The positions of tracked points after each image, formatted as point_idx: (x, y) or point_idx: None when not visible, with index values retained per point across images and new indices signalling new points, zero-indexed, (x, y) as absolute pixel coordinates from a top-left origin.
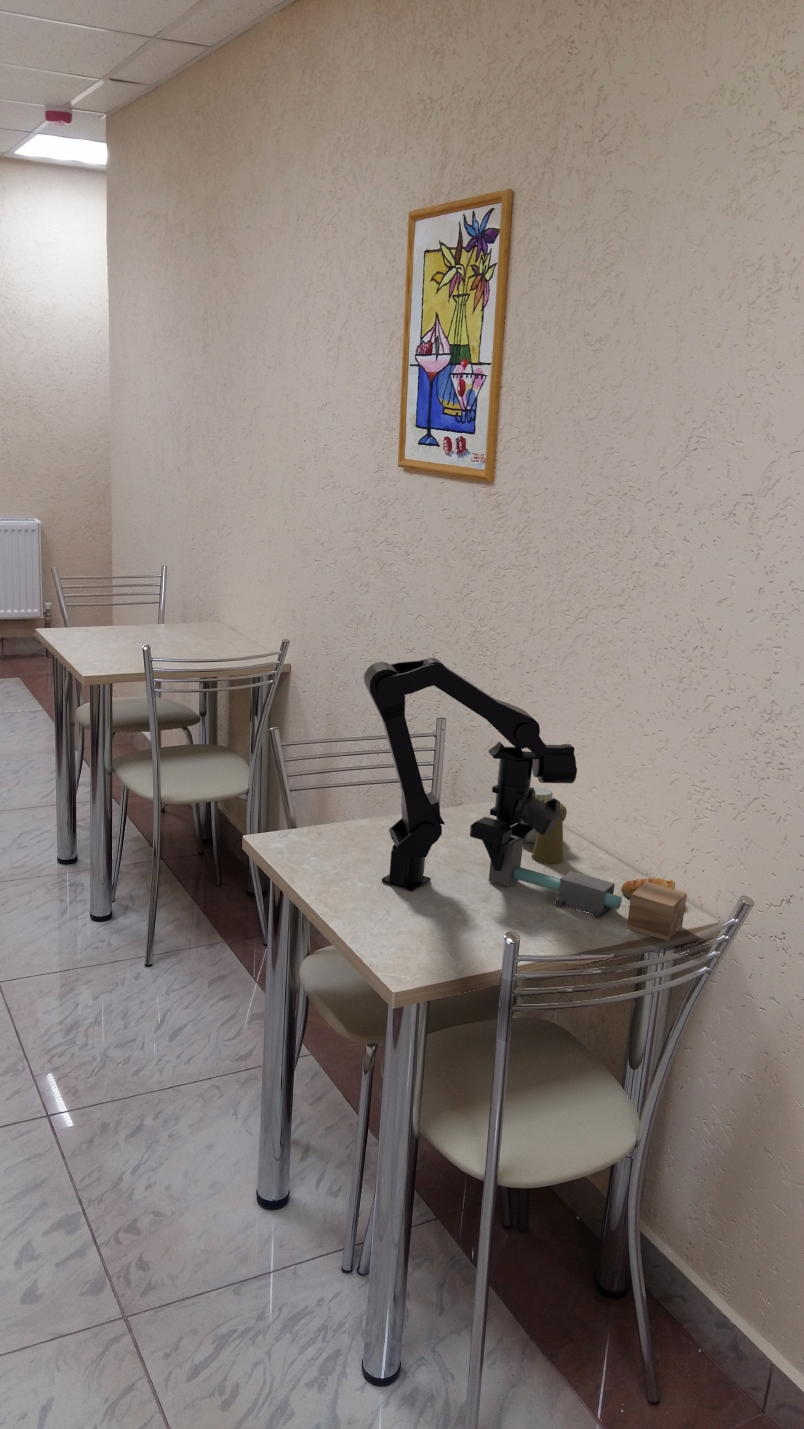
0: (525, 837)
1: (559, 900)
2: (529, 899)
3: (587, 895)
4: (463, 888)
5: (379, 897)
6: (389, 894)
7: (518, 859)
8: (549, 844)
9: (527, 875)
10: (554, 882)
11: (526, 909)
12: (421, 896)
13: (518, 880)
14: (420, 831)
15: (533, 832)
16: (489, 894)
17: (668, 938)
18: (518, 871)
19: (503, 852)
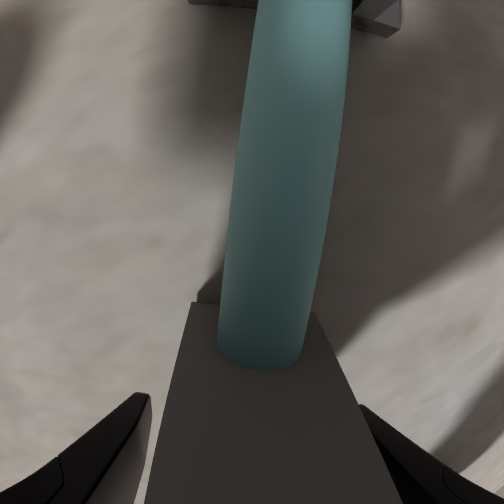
0: (25, 493)
1: (391, 12)
2: (391, 170)
3: None
4: (392, 423)
5: (480, 471)
6: (466, 474)
7: (227, 396)
8: None
9: (321, 249)
10: (349, 25)
11: (484, 156)
12: (468, 444)
13: (197, 303)
14: None
15: None
16: (414, 343)
17: None
18: (302, 326)
19: (457, 483)
